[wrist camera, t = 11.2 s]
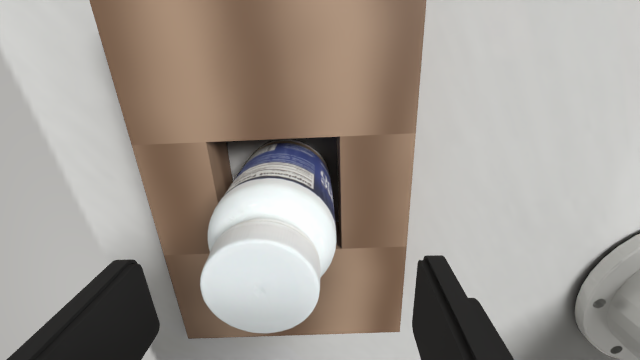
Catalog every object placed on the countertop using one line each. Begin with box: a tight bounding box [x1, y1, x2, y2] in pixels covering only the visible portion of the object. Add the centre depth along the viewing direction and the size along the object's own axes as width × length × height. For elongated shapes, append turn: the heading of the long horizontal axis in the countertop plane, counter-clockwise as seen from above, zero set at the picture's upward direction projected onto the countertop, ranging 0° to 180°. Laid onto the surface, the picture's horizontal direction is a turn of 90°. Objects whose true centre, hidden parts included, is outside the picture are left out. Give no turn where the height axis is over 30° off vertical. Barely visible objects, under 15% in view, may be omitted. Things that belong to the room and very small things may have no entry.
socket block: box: [90, 0, 426, 339], centre depth 17 cm, size 14×20×3 cm
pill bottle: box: [200, 139, 336, 333], centre depth 14 cm, size 5×5×10 cm
